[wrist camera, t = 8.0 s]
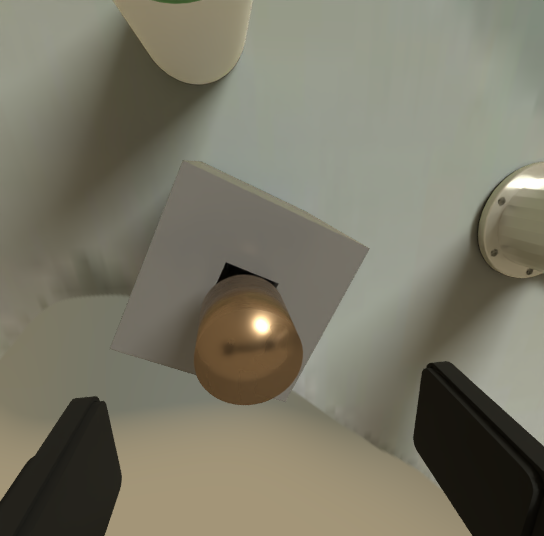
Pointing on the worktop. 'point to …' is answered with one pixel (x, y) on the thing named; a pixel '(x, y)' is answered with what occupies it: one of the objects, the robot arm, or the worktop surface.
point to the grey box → (239, 252)
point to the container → (190, 35)
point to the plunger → (246, 340)
